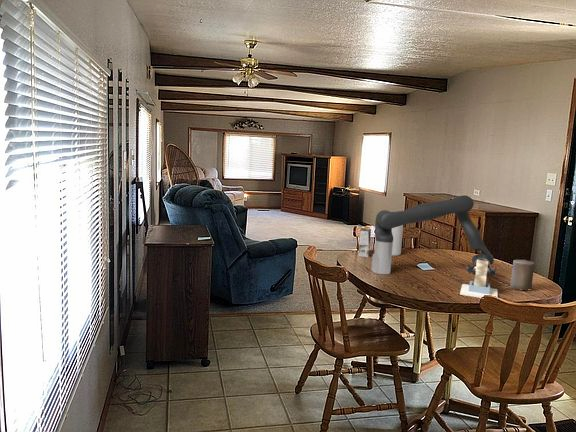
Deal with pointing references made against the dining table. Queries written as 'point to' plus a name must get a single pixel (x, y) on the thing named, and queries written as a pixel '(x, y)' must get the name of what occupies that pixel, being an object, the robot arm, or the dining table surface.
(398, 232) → the cylinder vase
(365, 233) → the coffee box
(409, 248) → the dining table surface
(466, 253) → the dining table surface
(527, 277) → the pillar candle
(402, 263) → the dining table surface
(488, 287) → the sleeve holder
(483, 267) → the birch post
